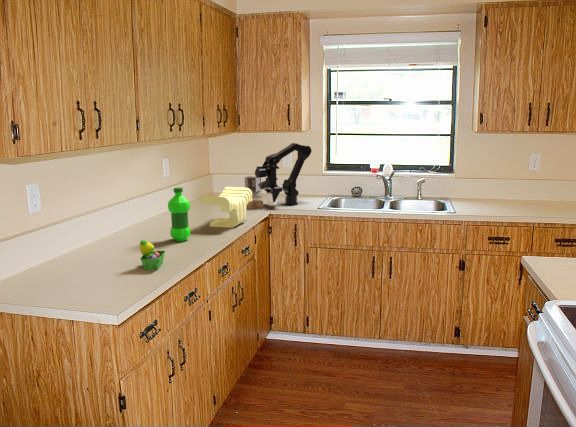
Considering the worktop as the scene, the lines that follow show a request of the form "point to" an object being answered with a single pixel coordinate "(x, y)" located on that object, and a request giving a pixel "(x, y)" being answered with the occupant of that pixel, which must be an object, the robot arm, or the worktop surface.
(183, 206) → the plastic bottle
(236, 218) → the slatted curved stool
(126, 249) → the worktop surface
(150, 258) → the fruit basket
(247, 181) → the coffee box
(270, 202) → the faceted beige tumbler
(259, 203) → the copper brown block
